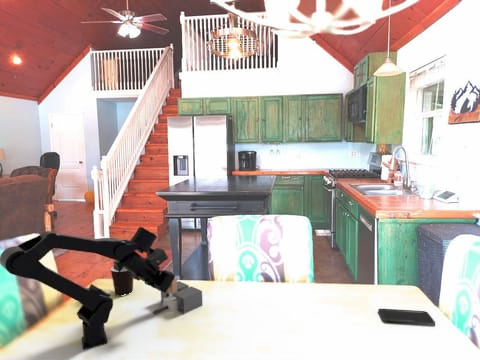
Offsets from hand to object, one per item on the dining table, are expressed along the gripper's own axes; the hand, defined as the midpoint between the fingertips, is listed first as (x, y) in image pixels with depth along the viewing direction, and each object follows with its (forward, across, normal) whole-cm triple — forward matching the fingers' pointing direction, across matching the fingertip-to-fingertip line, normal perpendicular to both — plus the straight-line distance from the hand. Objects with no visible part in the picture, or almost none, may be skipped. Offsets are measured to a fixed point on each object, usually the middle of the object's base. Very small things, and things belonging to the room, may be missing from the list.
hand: (168, 287), depth 114 cm
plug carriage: (+4, 0, +6) cm, 8 cm away
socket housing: (+9, 0, +2) cm, 9 cm away
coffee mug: (+4, +26, +8) cm, 27 cm away
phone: (+38, -62, -26) cm, 78 cm away
